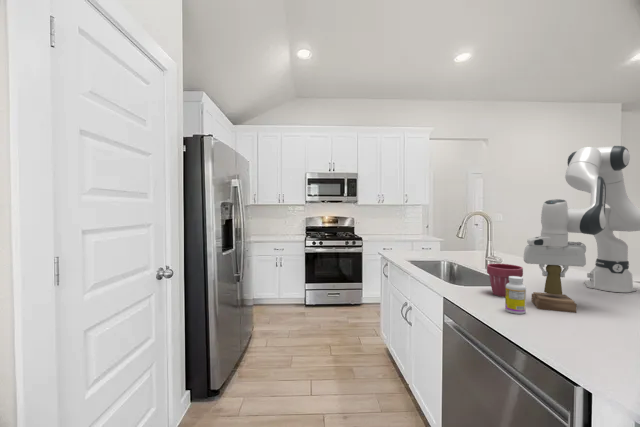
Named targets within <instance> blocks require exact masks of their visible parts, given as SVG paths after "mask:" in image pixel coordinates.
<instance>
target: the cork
mask: <svg viewBox="0 0 640 427" xmlns="http://www.w3.org/2000/svg"><path fill="white" fill-rule="evenodd" d="M545 271H547V272H548V274H547V275H548V276H545V283H544V290H543V293H549V294H557V295H560V294H564V293H563V287H562V281H561V280H562V279H561V278H562V277H560V273H561V272H562V271H563V267H562V266H561V265H546V266H545Z"/></svg>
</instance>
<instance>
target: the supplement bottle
mask: <svg viewBox="0 0 640 427" xmlns="http://www.w3.org/2000/svg"><path fill="white" fill-rule="evenodd" d="M523 283H524V277H523V276H522V277H518V276H509V283H507V284H506V296H505V297H504V298H505V299H504V300H505V302H504V306H505V311H506V312H508V313H510V314H515V315H516V314H517V315H523V314H525V313H526V312H527V311H526V310H527V308H526V307H527V286H526V285H525V284H523Z"/></svg>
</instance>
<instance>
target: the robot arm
mask: <svg viewBox="0 0 640 427" xmlns="http://www.w3.org/2000/svg"><path fill="white" fill-rule="evenodd" d="M630 159H631V155H630V151H629V150H628V148H626V146H623V145H614V146H598V147H593V146H585V147H584V146H583V147H581V148H579V149H578V150H576V151H574V152H571V154H569V156H568V157H567V169H566V170H565V176H564V178H565V181H566V183H567V185H569V186H570V187H571V188H573V189H575V190H578V191H581V192H586V193H588V194H590V202H589V206H587V207H585V208H574V207H573V208H571V207H570V208H569V207H568V203H567V200H565V199H558V198H557V199H556V198H555V199H549V200H545V201H544V202H543V205H542V207H541V208H542V209H541V214H540V223H541V230H540V235H538V236H535V237H531V238H528V239H527V242H526V243H527V245H525V248H524V251H523V261H524V263H525V264H529V265H538V267H539V269H540V271H541V276H543V277H547V276H548V275H547V274H548V272H547V271H546V269H544V268H545V267H546V266H547V265H559V266H561V267H562V271H561V273H560V278H565V277H566V273H567V271H569V267H580V268H581V267H582V268H585V266H586V265H587V260H586V251H587V246H586V244H584V243H582V241H581V242H580V241H576V242H575V241H569V234H570V233H572V234H573V233H574V234H584V235H585V234H586V235H590V236H591V235H592V236H593V237H594V239H595V241H596V246H597V247H596V248H597V258H596V260H595V264H594V265H595V267H594V268H593V269H592V270H591V271H590V272H587V273H586V277H587V278H589V280H584V281H583V283H584V285H585V286H586V287H587V288H590V289H595V290H601V291H604V292H605V291H606V292H614V293H633V292H637V288H635V287H634V280H633V274H632V272H631V271H630V270H629V269H630V268H629V267H630V262H629V245H628V244H627V243H626V242H625V241H624V240H622V239H620V238H618V237H616V236H615V235H614V232H640V207H639V206H637V205H636V204H635V203H634V202H632V200H631V199H630V197H629V196H628V194H627V191H626V186H625V179H624V173H623V169H625V168H627V166H628V165H629V162H630ZM606 205H607V206H608V207H606ZM545 265H546V266H545Z"/></svg>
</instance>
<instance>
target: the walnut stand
mask: <svg viewBox="0 0 640 427" xmlns="http://www.w3.org/2000/svg"><path fill="white" fill-rule="evenodd" d="M531 302H532V304H533V305H534V306H535V307H536V308H537V309H538V310H544V311H553V312H564V313H575V314H576V313H577V303H576V302H575V301H574V299H572V298H570V297H569V296H567V295H566V294H564V293H563V294H560V295H557V294H549V293H545V292H539V291H537V292H536V291H533V293H531Z"/></svg>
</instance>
